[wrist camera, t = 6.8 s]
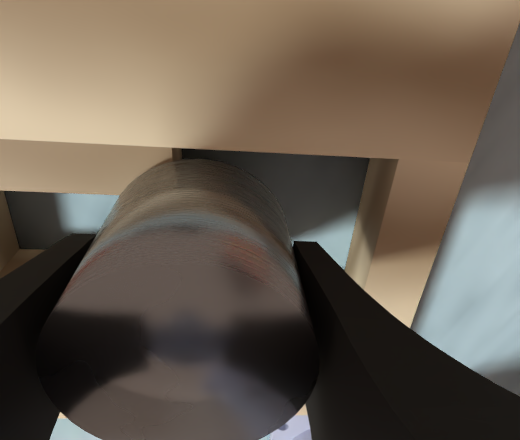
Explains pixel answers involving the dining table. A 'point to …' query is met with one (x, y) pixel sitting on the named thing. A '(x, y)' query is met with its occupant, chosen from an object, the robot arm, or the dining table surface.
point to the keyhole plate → (257, 104)
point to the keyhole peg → (183, 314)
